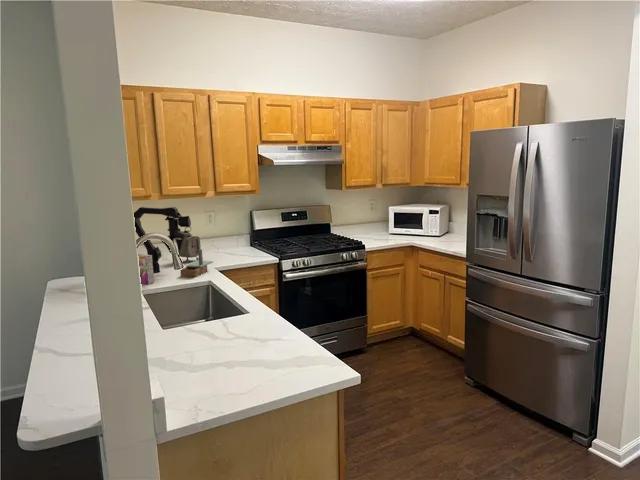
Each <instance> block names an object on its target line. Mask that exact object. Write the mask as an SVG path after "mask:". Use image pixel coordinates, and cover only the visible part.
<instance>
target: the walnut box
mask: <svg viewBox="0 0 640 480" xmlns="http://www.w3.org/2000/svg"><path fill="white" fill-rule="evenodd" d="M181 269H182V270H179V272H180V277H181V278H194V277H196V278H198V277H200V276H202V275H204V274H207V273H208V265H206V266H203V267H183V268H181ZM206 272H207V273H206ZM201 274H202V275H201ZM199 275H200V276H199ZM197 276H198V277H197Z"/></svg>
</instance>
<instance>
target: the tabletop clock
mask: <svg viewBox="0 0 640 480" xmlns="http://www.w3.org/2000/svg"><path fill="white" fill-rule="evenodd" d="M189 228H190V230H187V231H188V236H187V238H186V239H185V240H184V241H183V243H182V247H181V250H179V249H178V248H177V253H179V254H178V256H179V255H180V256H179V257H181V258H186V260H185V261H186V263H187V264H190V260H189V259H190V258H196V261H199V255H198V250H200V249H201V239H200V237H199V236H198V235H195V236H194V235H193V234H192V233H191V231H192V227H191V226H190V227H189ZM186 229H188V227H184V230H186Z"/></svg>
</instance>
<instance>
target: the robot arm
mask: <svg viewBox="0 0 640 480" xmlns="http://www.w3.org/2000/svg"><path fill="white" fill-rule="evenodd" d="M133 213H134V217H135V227H136V231H135V233H136V235H137V236H138V238H139V237H141V236H143V235H145V234H146V235H147V233H146V231H145V230H144V229H143V227H142V222H141V218H142V217H143V216H144V214H146V215H147V214H148V215H161V216H165V217H166V218H164V221H167V222H168V223H167V224H168V228H167V232H169V235H167V237H169V238H170V239H171V240H172V241H173V244H175V243H176V247H177V250H178V249H179V250H181V247H182V243H183V241H184V240H185V239H186V238H187V236H188V231H187V230H186V229H184V230H183V231H181V228H186V227H187V228H190V227H191V224H192V221H191V218H190V215H184V216H183V215H181V213H180V211H179V209H178V207H175V206H169V207H147V206H146V207H145V206H141V207H139V208H138V209H137V210H136V211H134V212H133ZM179 226H180V227H179ZM174 241H175V242H174ZM161 243H163V244H164V245H165V247H166V249H167V250H168V251H169V253H170V254H172V253H171V251H170V248H169V246H168V245H167V244H166V243H165V242H163V241H162V240H161ZM142 244H143V245H144V248H145V249H146V251H147V252H146V253H147V254H146V255H152V261H153V273H154V274H156V273H161V268H160V267H161V266H160V264H159V263H160V262H159V260H160V259H161V258H162V250H160V247H159V246H157V247H155V246H154V245H153V243H152V241H151V239H150V240H147V241H146V242H144V243H142Z"/></svg>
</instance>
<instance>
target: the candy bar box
mask: <svg viewBox="0 0 640 480" xmlns="http://www.w3.org/2000/svg"><path fill="white" fill-rule="evenodd" d="M137 254H138V256H139V267H140V277H141V283H143V285H152V284H155V276H154V275H155V273H153V261H152V255H148V254H144V253H143V254H142V253H137ZM141 283H140V284H141ZM151 283H152V284H151Z"/></svg>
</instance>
